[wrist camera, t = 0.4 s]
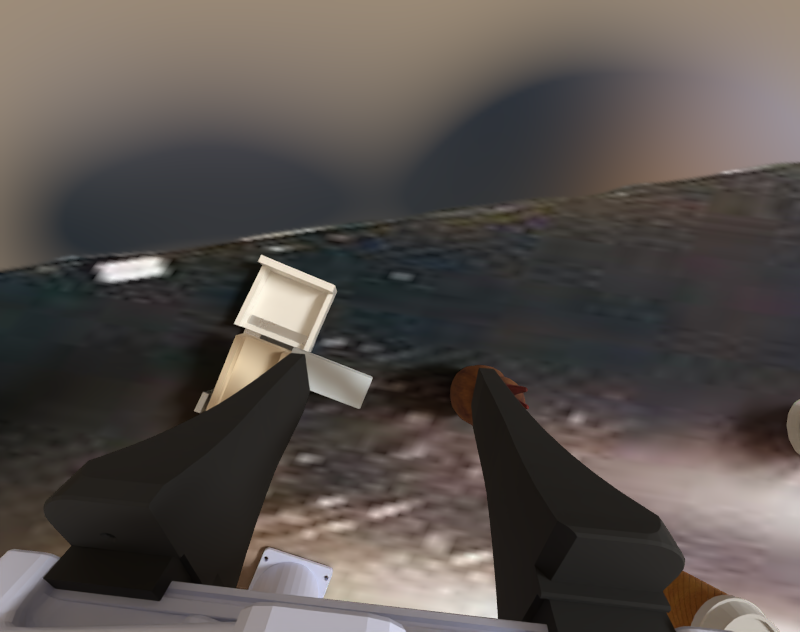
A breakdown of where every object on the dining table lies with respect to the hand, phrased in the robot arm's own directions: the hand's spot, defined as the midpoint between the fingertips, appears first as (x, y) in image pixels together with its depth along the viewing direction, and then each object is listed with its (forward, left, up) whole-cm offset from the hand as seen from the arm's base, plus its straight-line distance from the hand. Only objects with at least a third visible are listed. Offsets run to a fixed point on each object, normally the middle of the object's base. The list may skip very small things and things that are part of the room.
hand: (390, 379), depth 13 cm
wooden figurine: (+1, -13, -26) cm, 30 cm away
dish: (+3, +11, -26) cm, 29 cm away
